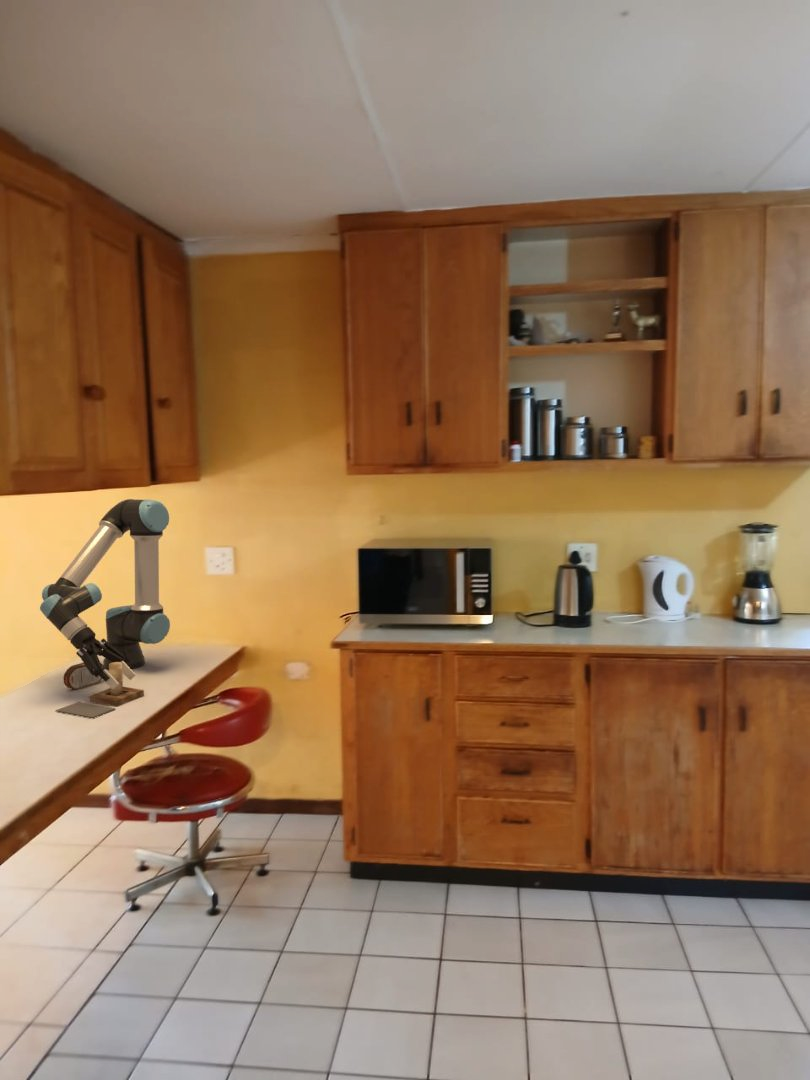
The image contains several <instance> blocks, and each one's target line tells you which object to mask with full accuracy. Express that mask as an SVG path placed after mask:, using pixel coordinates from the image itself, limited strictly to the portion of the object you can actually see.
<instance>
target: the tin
mask: <svg viewBox="0 0 810 1080" xmlns="http://www.w3.org/2000/svg"><path fill="white" fill-rule="evenodd" d="M100 663H101V665H102V668H103V671H104V670H105V668H104V666H103V663H102V662H100ZM93 670H94V669H93ZM101 681H103V679H102V678H101V677H100V676H99V675H98V676H97V677H95V676H94V675H91V673H90V672H89V670H88V669H87V667H86V666H85V664H84V662H81V663H77V664H73V665H71V666H70V667H68V668H67V669H66V670H65V672H64V674H63V684H64V686H65V687H67V688H68V689H72V690H80V689H83V687H84V688H87V687H90V685H91V686H94V685H97V684H98V683H99V684H100V682H101ZM93 684H94V685H93Z"/></svg>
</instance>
